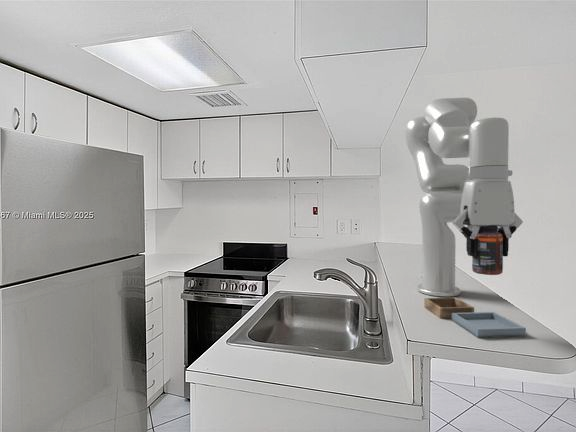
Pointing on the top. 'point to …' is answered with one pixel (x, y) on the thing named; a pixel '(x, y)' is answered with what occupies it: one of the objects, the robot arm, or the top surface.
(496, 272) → the supplement bottle
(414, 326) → the top surface
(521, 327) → the tray
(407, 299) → the top surface
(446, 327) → the top surface
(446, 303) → the holder
